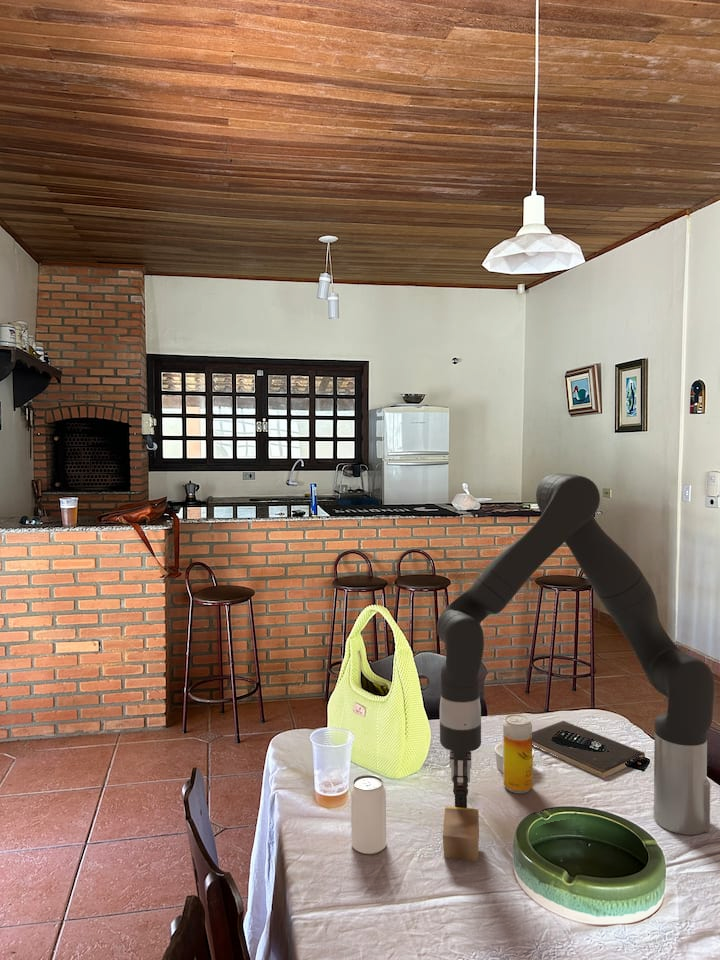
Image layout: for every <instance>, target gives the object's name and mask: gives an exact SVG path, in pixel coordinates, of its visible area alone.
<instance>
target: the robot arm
mask: <svg viewBox="0 0 720 960" xmlns="http://www.w3.org/2000/svg"><path fill="white" fill-rule="evenodd" d="M535 499H536V504H537V507H538V509H539V511H540V513H541V515H540V517H539V518H538V520H536V521H535V523H534V524H533V525H532V526H531V527H530V528H529V529H528V530H527V531H526V532H525V533H524V534H523V535H521V537H519V538H518V539H517V540H516V541H514V542H513V543H511V544H510V545H509V546H507V547H506V548H505V549H504V550H502V551H501V552H500V553H499V554H498V555H497V556H495V557H494V558H493V559H492V561H490V562H489V564H488V565H487V566H486V567H485V569H484V570H483V571H482V572H481V574H479V576H478V577H477V579H475V581H474V582H473V584H472V585H471V586H470V587H469V588H468V589H466V590H465V591H464V592H462V593H460V595H459V596H458V597H456V598H455V599H454V600H453V601H451V602H450V603H449V604H448V605H447V606H446V608H445V609H444V610H443V611H442V612H441V613H440V615H439V617H438V620H437V622H436V632H437V636H438V637H439V639H440V640H441V641H442V643H444V645H445V649H446V651H445V653H446V655H445V657H446V658H445V663H444V664H443V665H442V667H441V670H440V701H439V743H440V744H441V746H442V747H443V748H444V749H446V750H447V751H449V768H450V771H451V772H450V780H451V781H450V782H452V783H453V788H452V793H453V795H454V807H460V808H468V794H469V783H471V769H472V752H474V751H476V750H478V749H479V748H480V747H481V745H482V706H481V702H480V701H481V700H480V699H481V698H480V674H479V673H480V669H481V666H482V662H483V655H484V649H485V636H484V630H483V627H482V625H481V623H482V622H483V621H484V620H486V618H487V617H488V616H490V615H497V614H499V613H501V612H502V611H503V610H504V609H505V608H506V606H508V604H509V603H510V602H511V600H512V599H513V598H514V597H515V596H516V595H517V593H518V592H519V591H520V590H521V588H522V587H523V586H524V585H525V583H526V582H527V581H528V579H530V577H531V576H532V575H533V574H534V573H535V572H536V571H537V570H538V569H539V568H540V566H541V565H542V564H544V563H545V561H546V560H547V559H548V558H549V557H550V556H551V555H552V554H554V552H556V551H557V550H558V549H559V548H560V547H561V546H562V545H563V544H564V543H565V545H566V546H567V547H568V549H569V550H570V552H571V554H572V555H573V557H574V559H575V560H576V562H577V564H578V566H579V567H580V570H581V571H582V573H583V574H584V575H585V578H586V579H587V581H588V583H589V584H590V585H591V588H592V589H593V590H594V592H595V594H596V596H597V597H598V599H599V601H600V602H601V604H602V605H603V607H604V608H605V610H606V611H607V612H608V613H609V615H610V616H611V618H612V620H613V622H614V623H615V624H616V626H617V627H618V628H619V631H620V632H621V633H622V634H623V635H624V637H625V638H626V640H627V641H628V643H629V644H630V646H631V647H632V650H633V651H634V653H635V655H636V658H637V659H638V661H639V663H640V665H641V668H642V670H643V672H644V673H645V676H646V678H647V679H648V681H649V683H650V684H651V686H652V687H653V688H654V689H655V690H656V691H657V692H658V693H660V694H661V695H664V696H665V697H666V698H668V699H667V711H666V712H665V713H661V714H658V715H657V716H656V717H655V719H654V735H653V736H654V740H653V741H654V746H653V747H654V748H653V749H654V755H653V756H654V758H653V759H654V760H653V767H654V768H653V771H654V772H653V783H654V784H653V819H654V821H655V822H656V823H657V824H658V825H659V826H660V827H662V828H663V829H665V830H666V831H667V830H668V831H670V832H671V833H672V832H673V833H676V834H680V835H687V836H688V835H689V836H690V835H692V836H693V835H700V834H702V833H705V832H706V833H709V832H710V831H711V786H712V785H711V782H710V781H709V779H708V778H707V777H708V776H707V774H708V773H707V772H708V771H707V770H708V768H707V767H708V733H709V731H710V728H711V726H712V722H713V715H714V701H715V700H714V699H715V679H714V675H713V672H712V669H711V668H710V666H709V665H708V664H707V663H705V661H703V660H701V659H699V658H697V657H694V656H692V655H691V654H688V653H687V652H684V651H683V650H681V649H680V648H679V647H678V646H677V645H676V643H674V641H673V640H672V639H671V637H670V636H669V635H668V633H667V631H666V630H665V629H664V627H663V626H662V623H661V621H660V617H659V611H658V606H657V605H658V604H657V599H656V596H655V593H654V591H653V589H652V586H651V585H650V583H649V581H648V580H647V578H646V576H644V573H642V571H641V569H640V567H639V566H638V565H637V564H636V562H635V561H634V560H633V559H632V558H631V557H630V556H629V554H628V553H627V552H626V551H625V550H624V549H623V548H621V546H619V545H618V544H617V543H616V542H615V541H614V540H613V538H611V537H610V536H609V535H608V534H607V533H606V532H605V530H603V528H602V527H601V526H600V524H599V523H598V522H597V520H596V518H595V517H594V516H595V514H596V513H597V512H598V509H599V506H600V503H601V495H600V491H599V488H598V487H597V485H596V484H595V482H594V481H593V480H592V479H590V478H588V477H586V476H582V475H578V474H571V473H553V474H549V475H547V476H545V477H544V478H543V479H541V480H540V482H539V483H538V485H537V488H536V491H535Z"/></svg>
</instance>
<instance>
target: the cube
mask: <svg viewBox="0 0 720 960" xmlns="http://www.w3.org/2000/svg"><path fill="white" fill-rule="evenodd" d="M444 807H445V808H444V817H443V825H442V826H443V828H442V846H443V858H444V859H452V860H462V861H470V862H479V842H480V824H479V823H480V820H479V817H480V816H479V813H480V812H479V811H480V810H479V808H469V807H467V808H460V807H455V806H448V805H447V806H446V805H445V806H444Z"/></svg>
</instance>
